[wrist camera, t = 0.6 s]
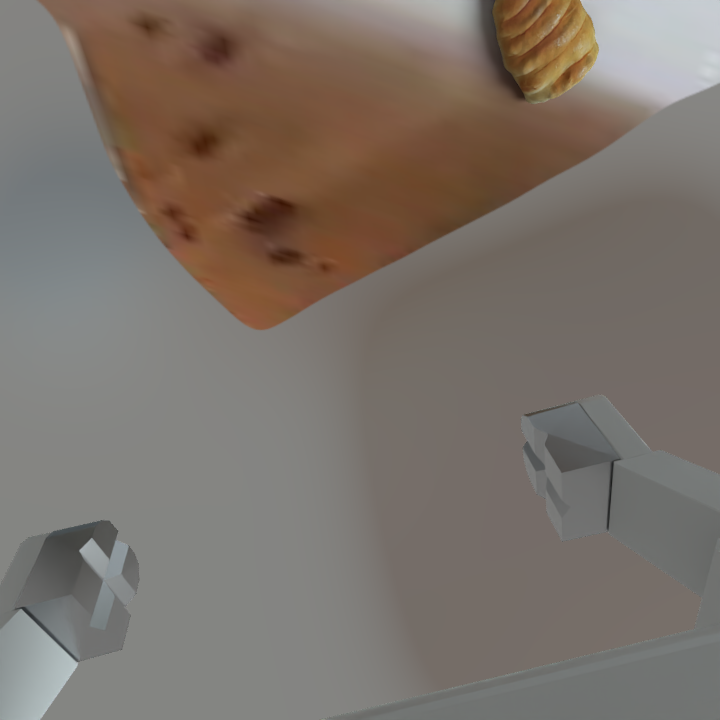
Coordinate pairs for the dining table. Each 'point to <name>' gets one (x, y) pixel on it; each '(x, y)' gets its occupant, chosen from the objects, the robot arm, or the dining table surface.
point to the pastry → (545, 44)
